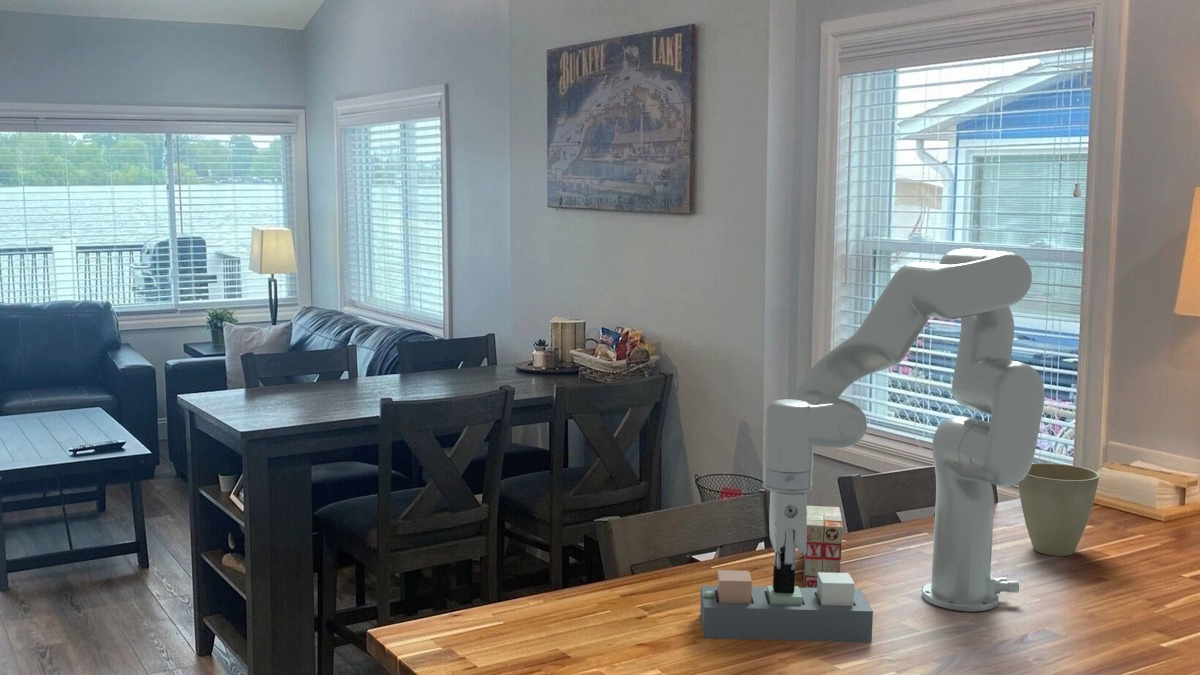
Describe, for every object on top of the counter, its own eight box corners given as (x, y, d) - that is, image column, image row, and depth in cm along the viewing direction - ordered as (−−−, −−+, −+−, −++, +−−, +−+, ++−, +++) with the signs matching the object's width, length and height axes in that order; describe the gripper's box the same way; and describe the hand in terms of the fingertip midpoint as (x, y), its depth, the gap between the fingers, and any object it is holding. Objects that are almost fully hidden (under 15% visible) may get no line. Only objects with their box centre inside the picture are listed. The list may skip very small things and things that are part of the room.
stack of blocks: (803, 554, 222) (805, 492, 220) (836, 556, 220) (838, 493, 219) (803, 592, 201) (805, 523, 199) (840, 594, 200) (842, 525, 198)
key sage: (797, 615, 186) (798, 586, 185) (801, 627, 181) (802, 597, 180) (766, 615, 186) (767, 585, 185) (769, 626, 181) (770, 596, 180)
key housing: (859, 618, 188) (860, 585, 187) (871, 642, 178) (873, 607, 177) (700, 614, 189) (701, 581, 188) (703, 638, 179) (704, 603, 178)
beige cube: (748, 600, 186) (748, 570, 185) (751, 611, 181) (751, 581, 180) (717, 600, 186) (717, 570, 185) (719, 611, 181) (719, 580, 180)
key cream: (847, 602, 185) (848, 573, 185) (853, 614, 180) (854, 583, 180) (816, 602, 185) (817, 572, 185) (821, 613, 180) (822, 582, 180)
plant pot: (1100, 547, 227) (1105, 468, 225) (1086, 567, 215) (1092, 484, 213) (1021, 534, 235) (1026, 458, 233) (1004, 553, 223) (1008, 473, 221)
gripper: (819, 491, 173) (814, 609, 175) (805, 468, 188) (800, 576, 190) (769, 490, 173) (764, 607, 175) (758, 467, 188) (755, 575, 190)
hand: (783, 591), depth 183 cm, fingers closed
